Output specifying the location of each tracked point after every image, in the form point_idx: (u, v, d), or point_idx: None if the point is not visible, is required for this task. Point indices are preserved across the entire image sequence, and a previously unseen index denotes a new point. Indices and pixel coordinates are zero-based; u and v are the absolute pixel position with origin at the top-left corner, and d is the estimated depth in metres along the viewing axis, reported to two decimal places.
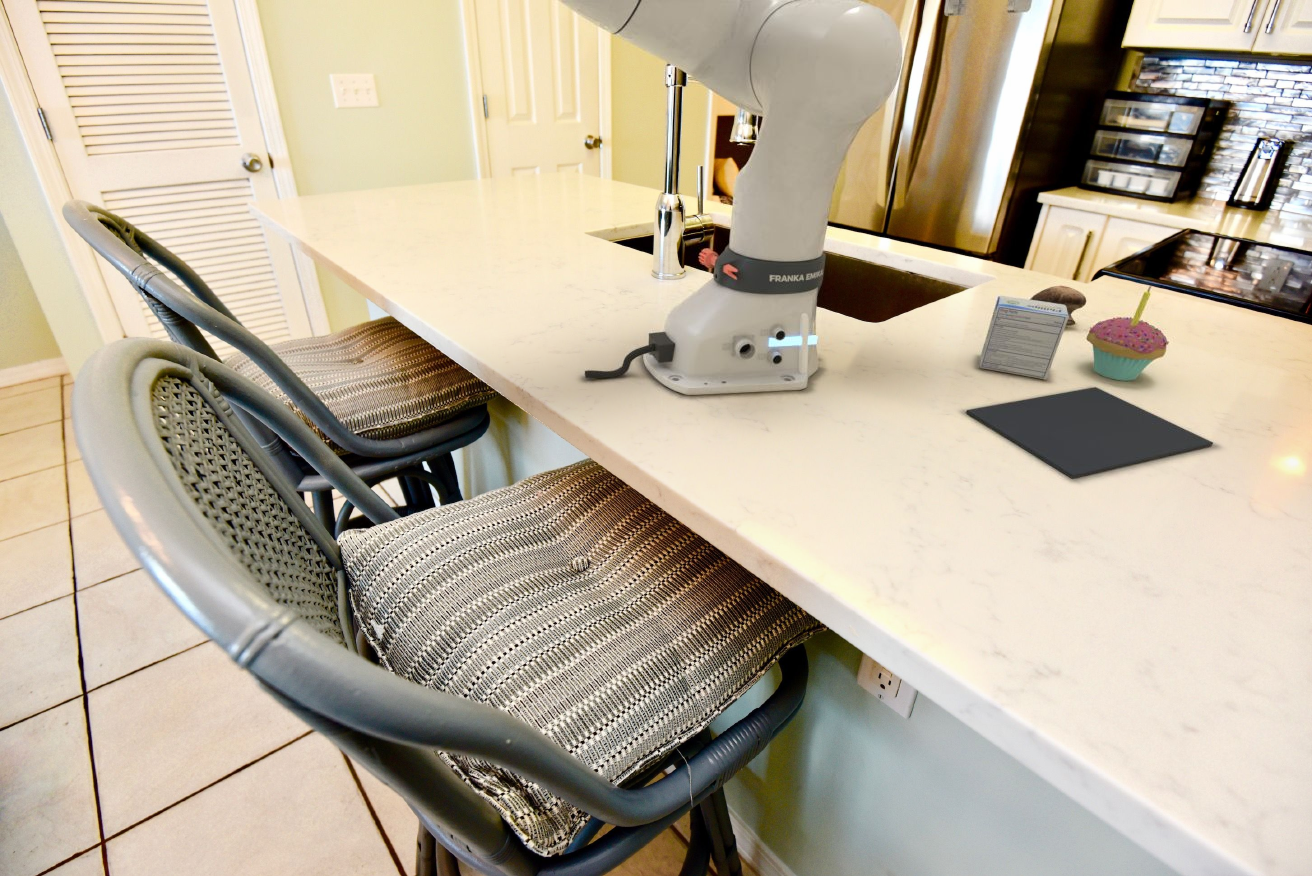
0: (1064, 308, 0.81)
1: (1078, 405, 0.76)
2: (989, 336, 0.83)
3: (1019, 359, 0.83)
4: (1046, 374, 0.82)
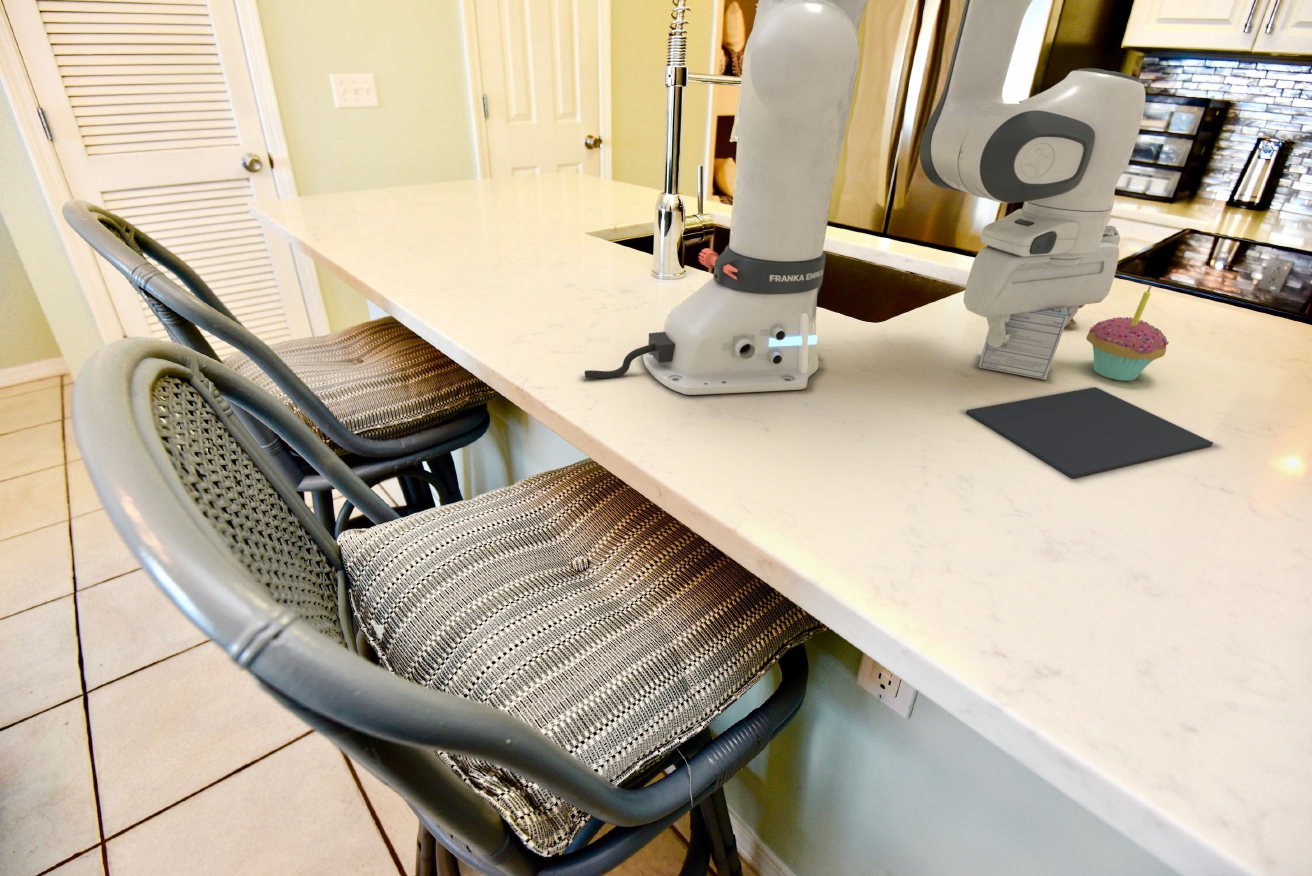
0: (1064, 308, 0.80)
1: (1078, 405, 0.76)
2: (988, 336, 0.83)
3: (1018, 359, 0.83)
4: (1045, 374, 0.82)
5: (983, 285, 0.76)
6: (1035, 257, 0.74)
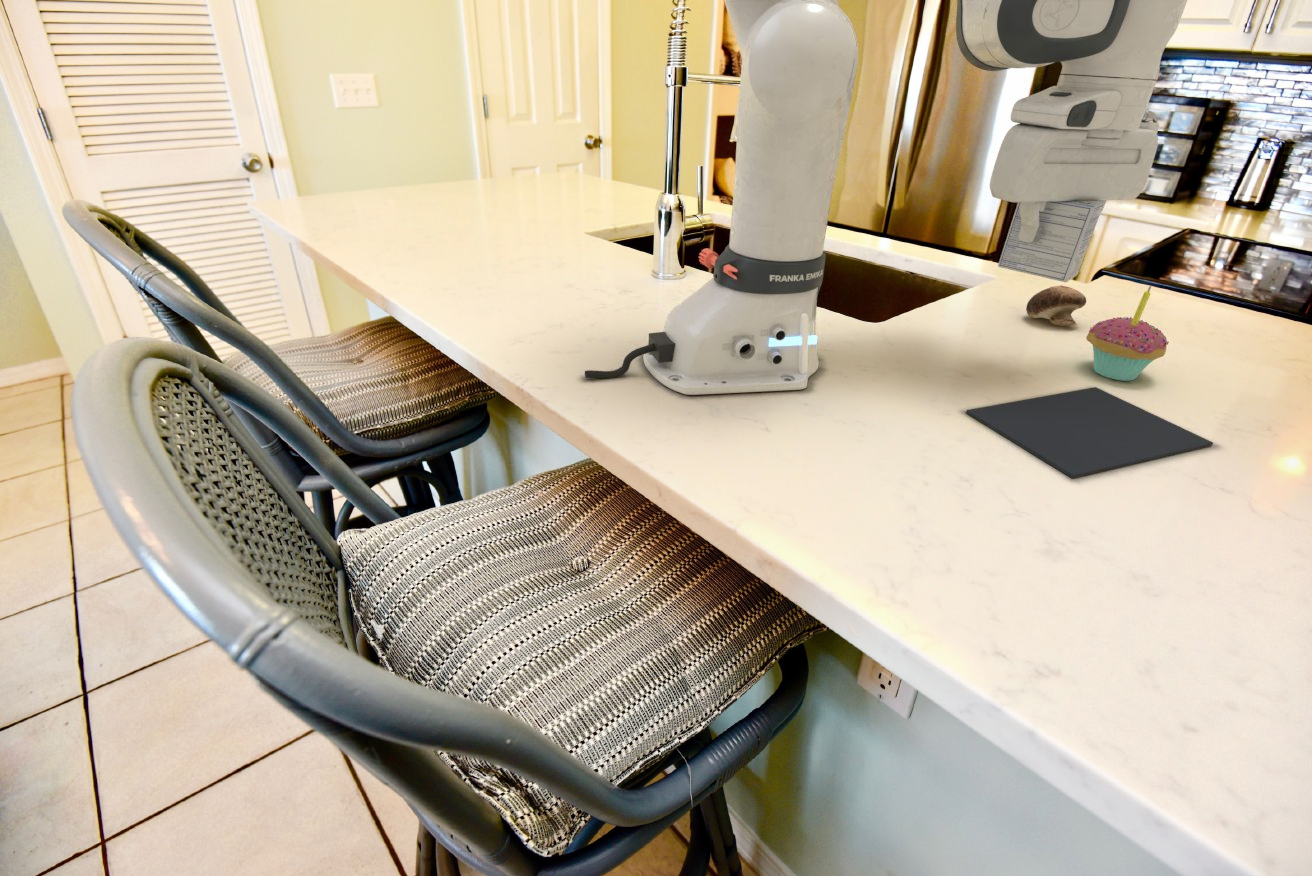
0: (1097, 202, 0.73)
1: (1078, 405, 0.76)
2: (1009, 230, 0.78)
3: (1038, 258, 0.77)
4: (1066, 276, 0.76)
5: (1013, 164, 0.70)
6: (1071, 132, 0.68)
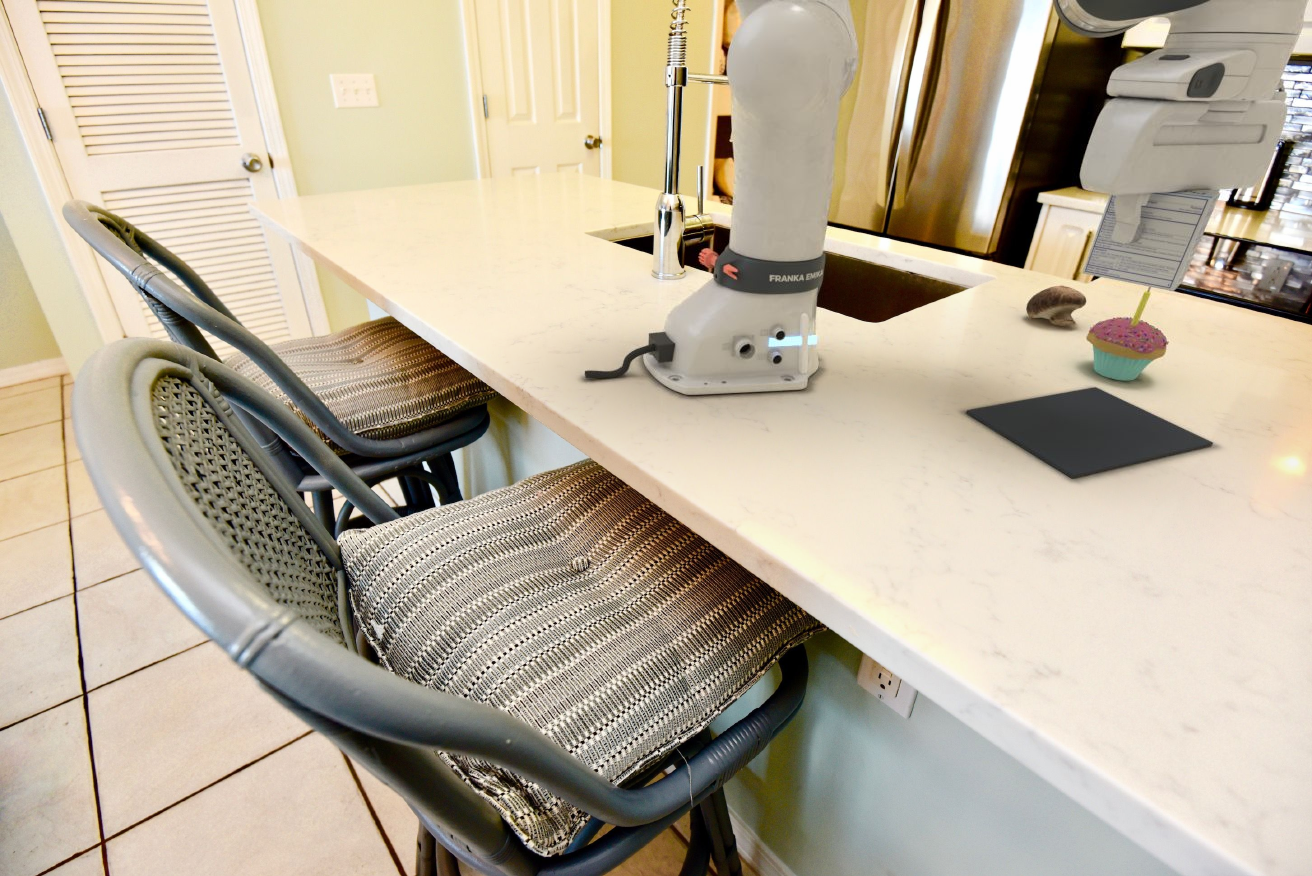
0: (1213, 192, 0.59)
1: (1078, 405, 0.76)
2: (1098, 229, 0.64)
3: (1137, 262, 0.63)
4: (1174, 283, 0.62)
5: (1114, 148, 0.56)
6: (1190, 104, 0.54)
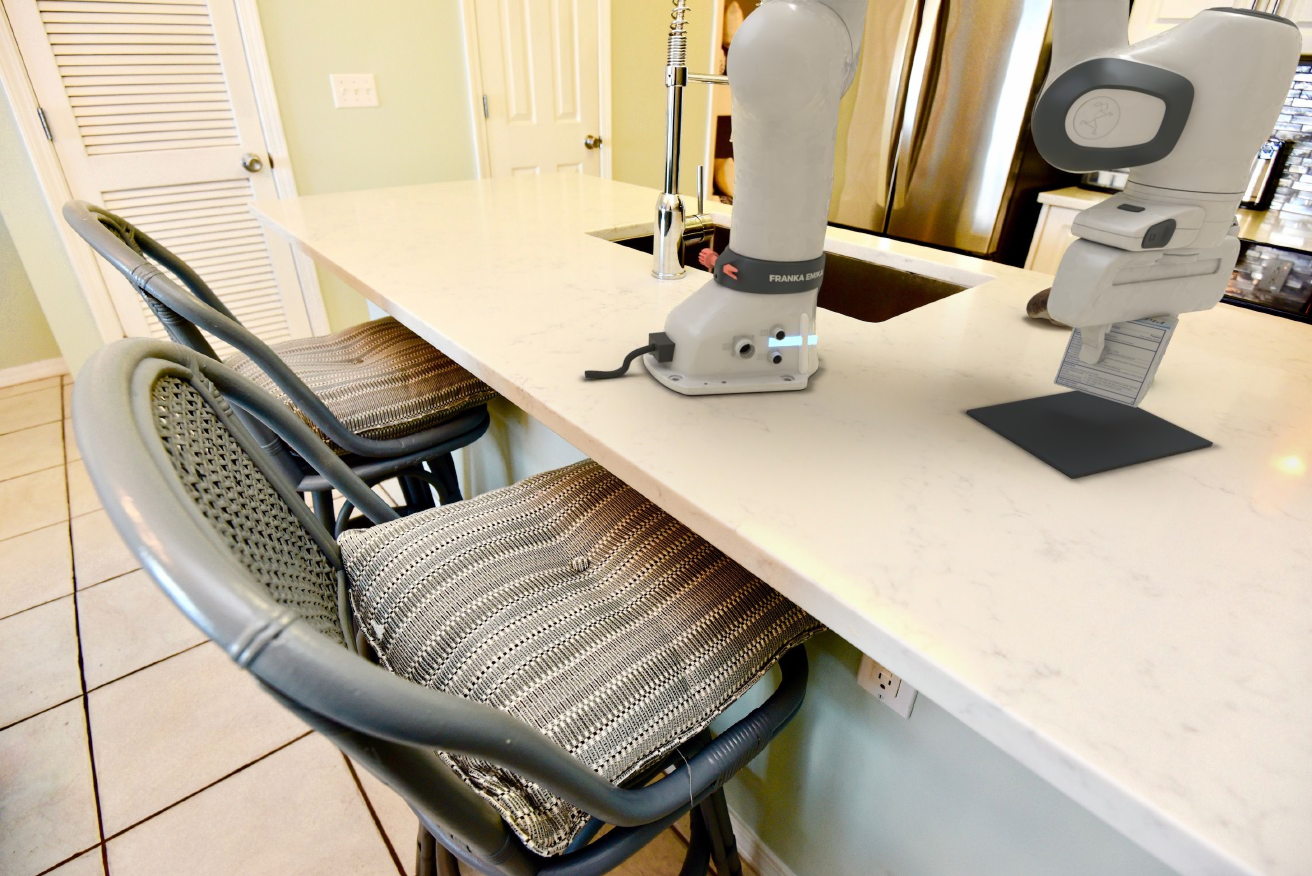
0: (1172, 320, 0.64)
1: (1078, 405, 0.76)
2: (1067, 346, 0.69)
3: (1103, 379, 0.68)
4: (1136, 401, 0.66)
5: (1077, 287, 0.60)
6: (1146, 252, 0.58)
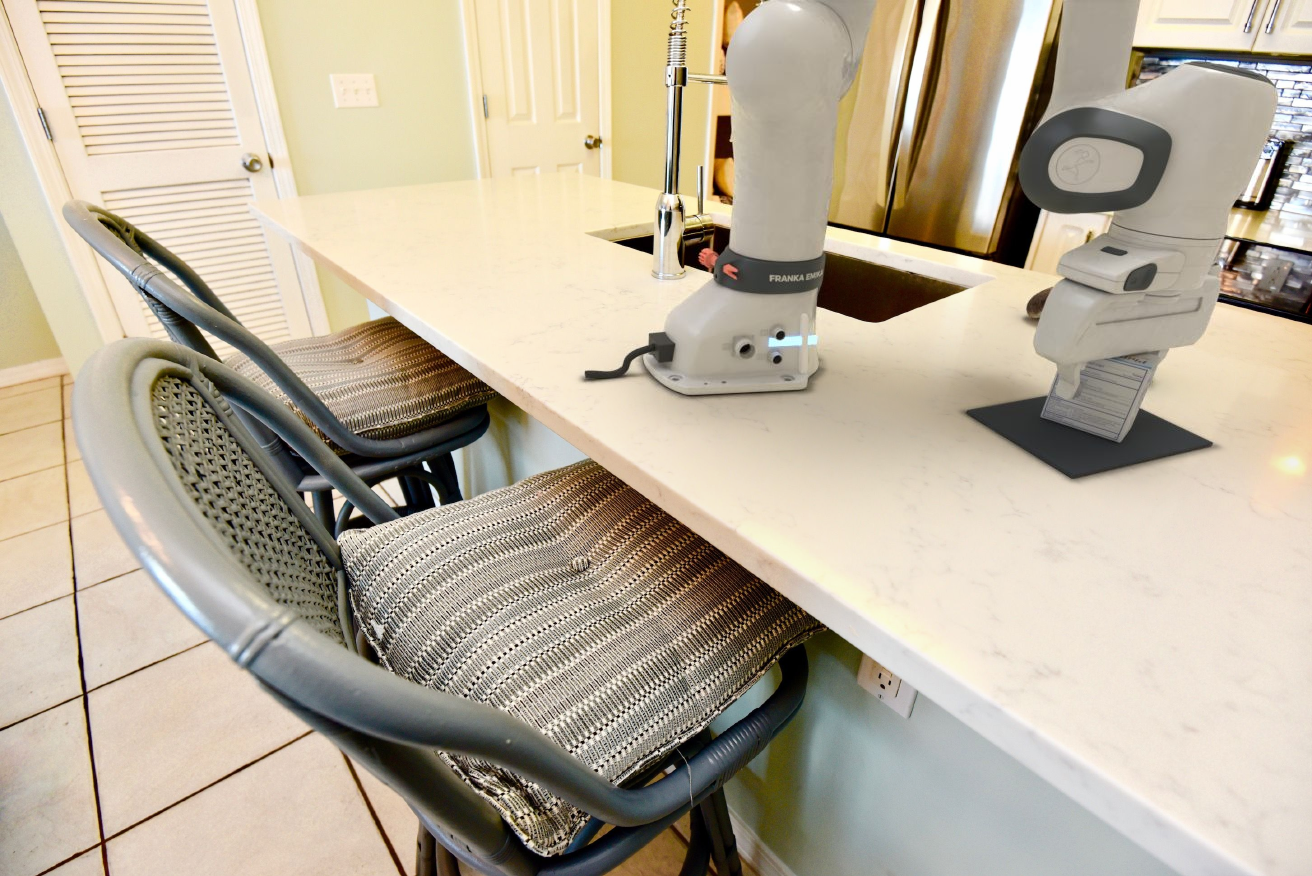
0: (1153, 360, 0.66)
1: None
2: (1054, 381, 0.71)
3: (1087, 414, 0.70)
4: (1120, 436, 0.68)
5: (1061, 326, 0.62)
6: (1128, 294, 0.60)
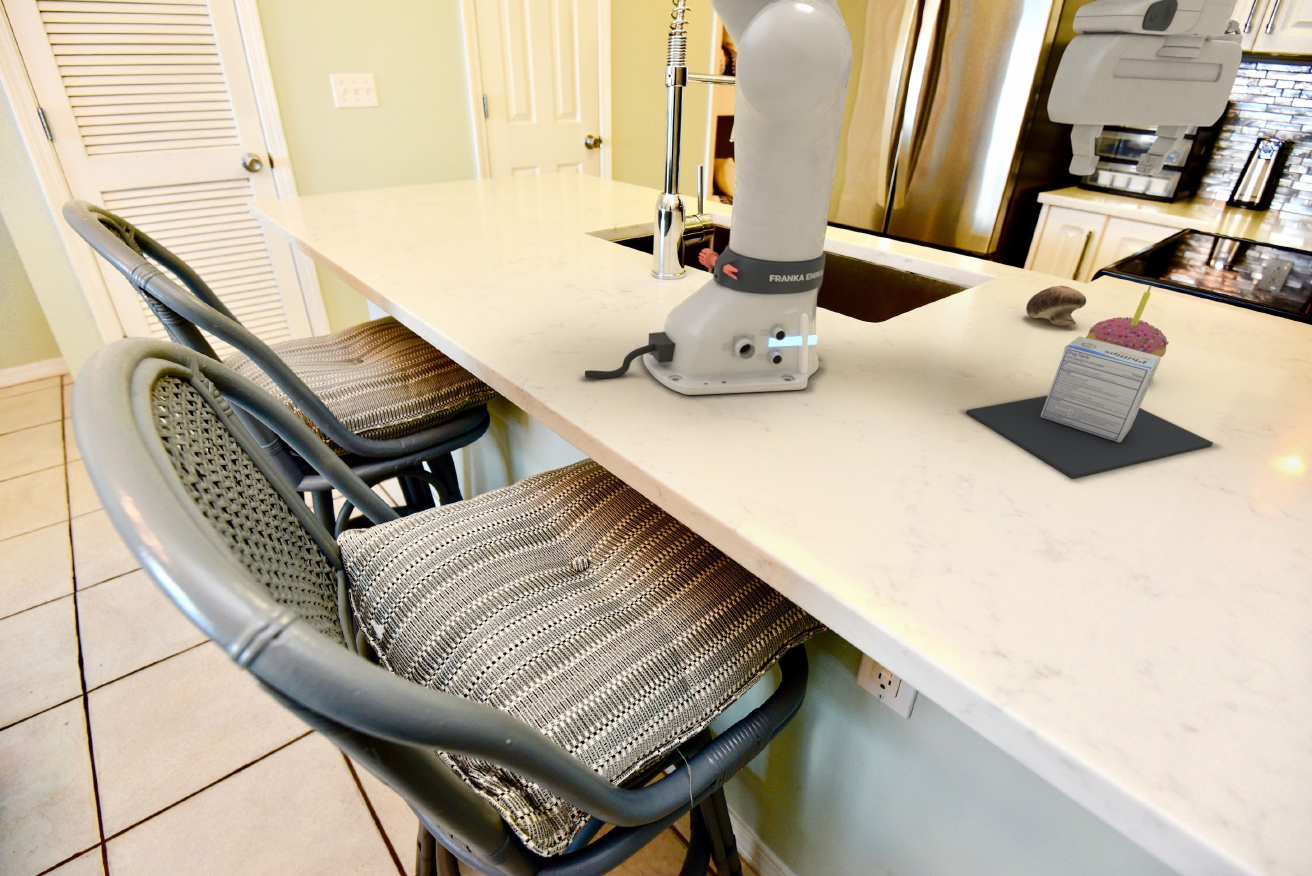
0: (1153, 360, 0.66)
1: None
2: (1053, 381, 0.71)
3: (1087, 414, 0.70)
4: (1120, 436, 0.68)
5: (1077, 79, 0.60)
6: (1147, 37, 0.58)
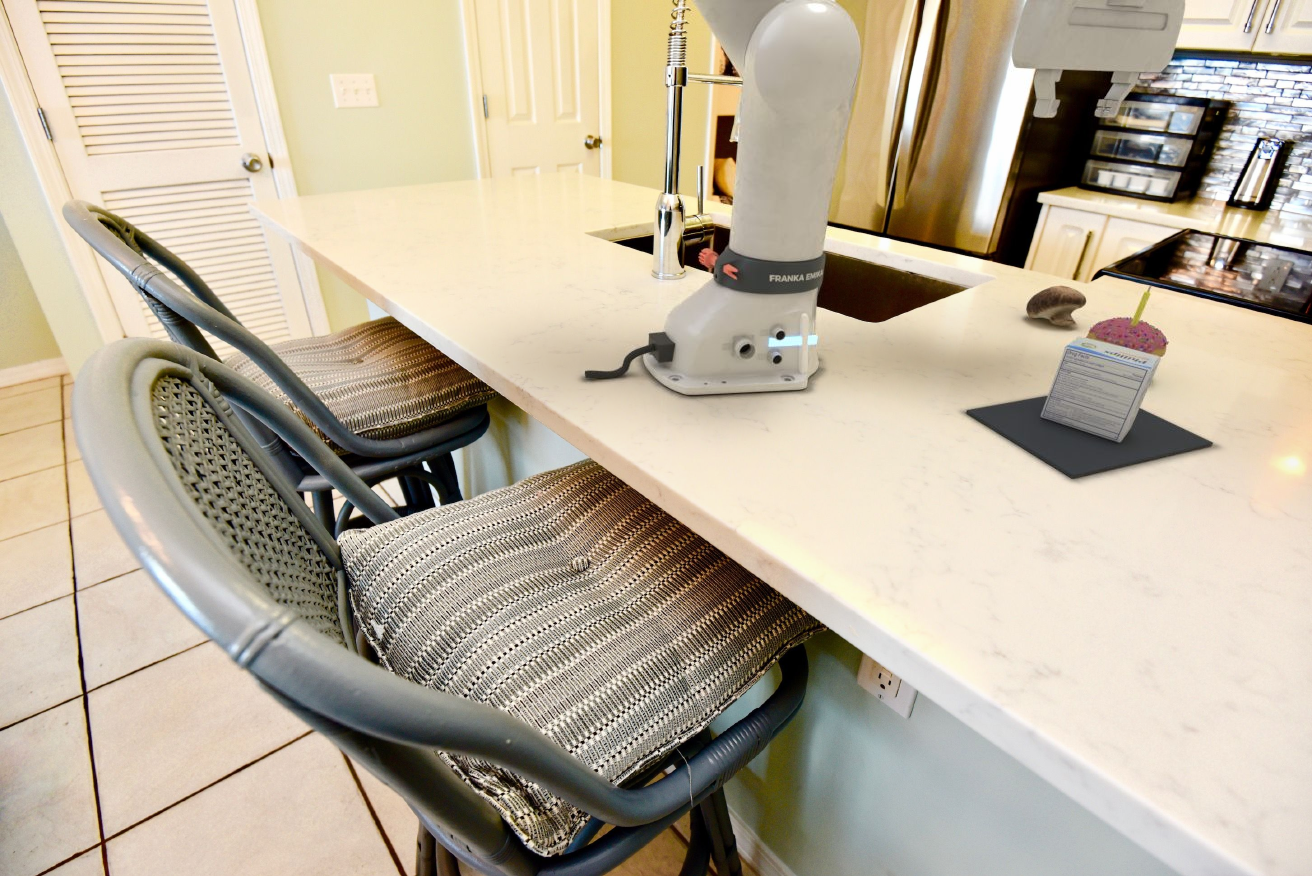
0: (1153, 360, 0.66)
1: None
2: (1053, 382, 0.71)
3: (1087, 414, 0.70)
4: (1120, 436, 0.68)
5: (1036, 27, 0.67)
6: None
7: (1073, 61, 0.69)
